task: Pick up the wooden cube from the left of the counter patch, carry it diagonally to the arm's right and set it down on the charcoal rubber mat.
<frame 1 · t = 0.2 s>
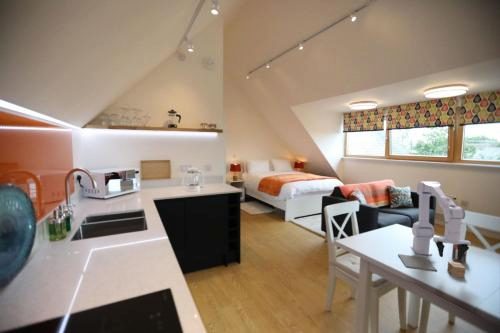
hand: (449, 257, 117), 10 cm above the table, fingers open, 7 cm apart
charcoal mat: (416, 262, 130), on the table
supplement bottle: (458, 260, 133), on the table
wooden cube: (455, 273, 119), on the table
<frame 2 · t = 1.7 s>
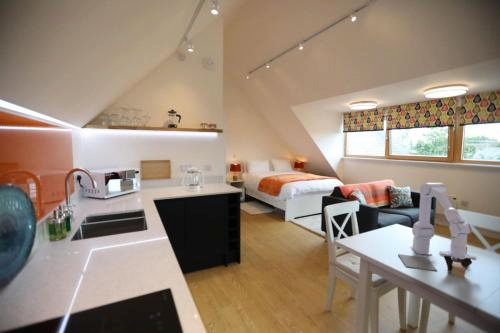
hand: (455, 271, 119), 1 cm above the table, fingers closed on wooden cube, 5 cm apart
wooden cube: (455, 273, 119), on the table, touching gripper
everything else where it was.
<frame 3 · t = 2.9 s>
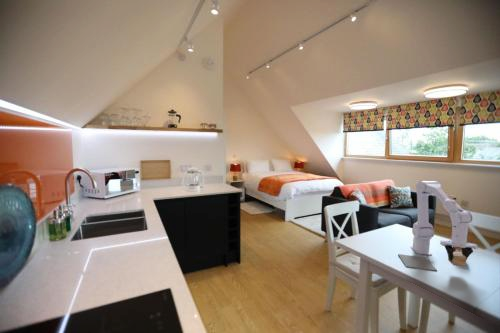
hand: (456, 260, 118), 7 cm above the table, fingers closed on wooden cube, 5 cm apart
wooden cube: (456, 263, 119), point 6 cm above the table, touching gripper
everything else where it was.
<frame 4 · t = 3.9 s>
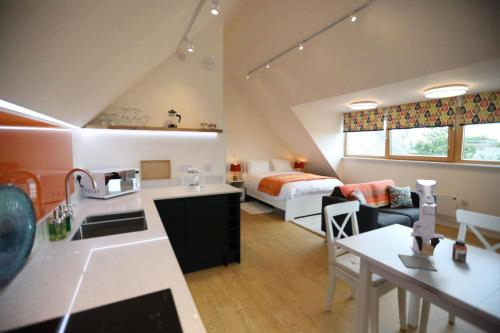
hand: (425, 250, 127), 8 cm above the table, fingers closed on wooden cube, 5 cm apart
wooden cube: (425, 253, 127), point 7 cm above the table, touching gripper
everything else where it was.
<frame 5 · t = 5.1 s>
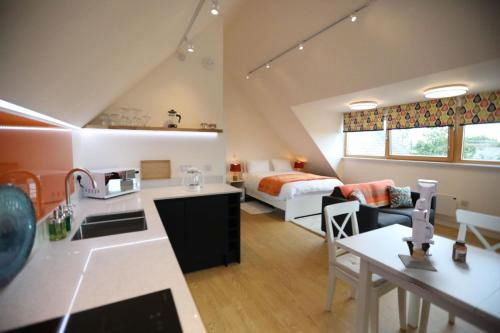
hand: (416, 254, 130), 5 cm above the table, fingers closed on wooden cube, 5 cm apart
wooden cube: (416, 257, 130), point 3 cm above the table, touching gripper
everything else where it was.
when the fingers open (4 cm above the table, at t = 5.9 s): wooden cube drops 1 cm, resting on charcoal mat.
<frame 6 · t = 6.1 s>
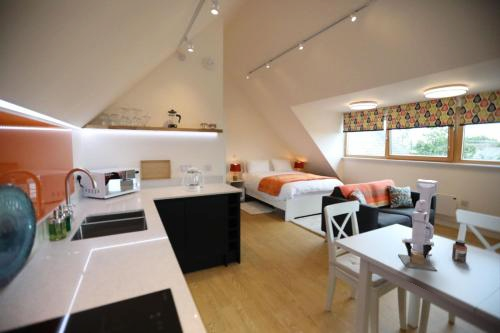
hand: (416, 256, 130), 4 cm above the table, fingers open, 7 cm apart
wooden cube: (416, 261, 130), point 1 cm above the table, touching charcoal mat
everything else where it was.
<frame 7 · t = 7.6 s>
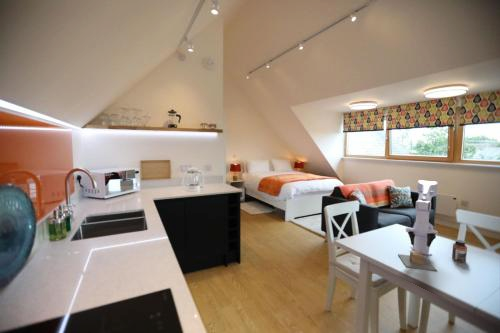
hand: (420, 245, 131), 9 cm above the table, fingers open, 7 cm apart
nothing on the table moved.
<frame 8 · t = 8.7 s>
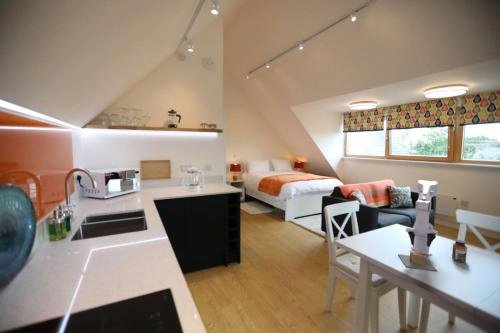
hand: (420, 245, 131), 9 cm above the table, fingers open, 7 cm apart
nothing on the table moved.
at the end: wooden cube inside the target area on the charcoal mat (0.1 cm from its centre), point 0.6 cm above the charcoal mat's base; wooden cube tilted 0°; the gripper is holding nothing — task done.
